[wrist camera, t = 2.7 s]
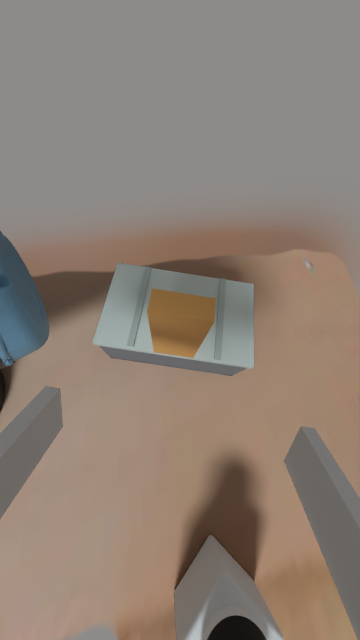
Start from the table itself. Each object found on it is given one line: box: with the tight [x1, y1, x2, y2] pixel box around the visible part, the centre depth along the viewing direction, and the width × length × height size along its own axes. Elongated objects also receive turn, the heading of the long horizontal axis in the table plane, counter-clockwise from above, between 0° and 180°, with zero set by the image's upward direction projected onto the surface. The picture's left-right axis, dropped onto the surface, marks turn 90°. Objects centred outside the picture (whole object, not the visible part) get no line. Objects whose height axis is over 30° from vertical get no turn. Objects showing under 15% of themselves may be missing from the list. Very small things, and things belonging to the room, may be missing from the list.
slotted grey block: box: [93, 263, 254, 369], centre depth 24 cm, size 20×12×14 cm, turn 82°
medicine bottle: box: [174, 535, 283, 640], centre depth 20 cm, size 7×7×12 cm
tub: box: [100, 346, 246, 376], centre depth 34 cm, size 20×12×8 cm, turn 82°
